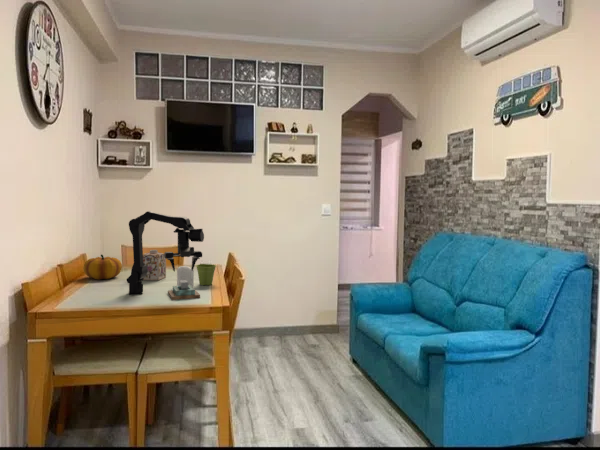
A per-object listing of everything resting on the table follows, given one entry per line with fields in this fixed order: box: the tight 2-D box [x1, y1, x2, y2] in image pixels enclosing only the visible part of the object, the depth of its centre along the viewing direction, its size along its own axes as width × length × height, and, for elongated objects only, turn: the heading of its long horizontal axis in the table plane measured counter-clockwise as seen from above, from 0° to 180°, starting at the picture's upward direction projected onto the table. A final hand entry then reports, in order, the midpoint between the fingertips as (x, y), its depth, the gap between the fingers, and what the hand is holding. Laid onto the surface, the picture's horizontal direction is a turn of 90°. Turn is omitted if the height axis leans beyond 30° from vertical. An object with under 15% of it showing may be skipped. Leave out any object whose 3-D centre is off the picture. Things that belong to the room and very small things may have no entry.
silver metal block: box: [179, 280, 188, 290], centre depth 236 cm, size 4×7×6 cm, turn 23°
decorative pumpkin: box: [82, 254, 123, 281], centre depth 281 cm, size 20×22×15 cm
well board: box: [167, 285, 201, 301], centre depth 236 cm, size 14×16×4 cm
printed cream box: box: [176, 265, 195, 288], centre depth 256 cm, size 10×4×12 cm, turn 60°
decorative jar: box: [143, 249, 167, 281], centre depth 281 cm, size 12×12×18 cm
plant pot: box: [195, 263, 217, 286], centre depth 266 cm, size 12×12×11 cm
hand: (183, 271), depth 235 cm, fingers open, 9 cm apart
